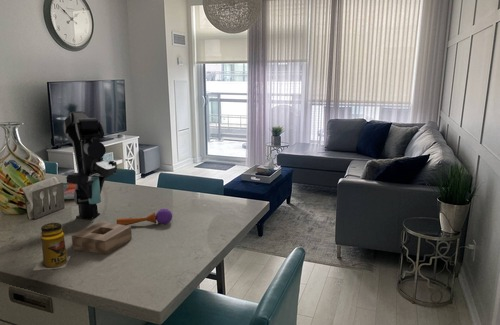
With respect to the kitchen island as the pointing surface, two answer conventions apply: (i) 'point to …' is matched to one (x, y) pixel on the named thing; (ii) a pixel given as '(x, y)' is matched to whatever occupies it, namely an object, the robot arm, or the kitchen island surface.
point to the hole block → (101, 237)
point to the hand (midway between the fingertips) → (94, 196)
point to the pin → (95, 191)
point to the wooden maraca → (149, 218)
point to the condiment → (52, 247)
